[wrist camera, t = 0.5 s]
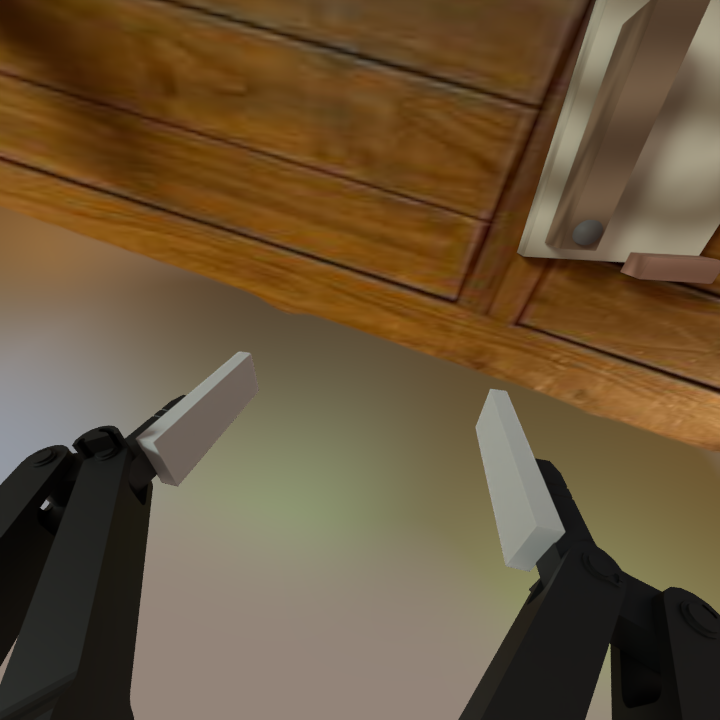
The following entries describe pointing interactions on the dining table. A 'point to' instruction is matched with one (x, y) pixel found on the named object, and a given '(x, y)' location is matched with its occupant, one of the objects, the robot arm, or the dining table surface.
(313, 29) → the dining table surface
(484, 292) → the dining table surface
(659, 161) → the stool seat
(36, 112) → the dining table surface
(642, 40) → the walnut leg
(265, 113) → the dining table surface
